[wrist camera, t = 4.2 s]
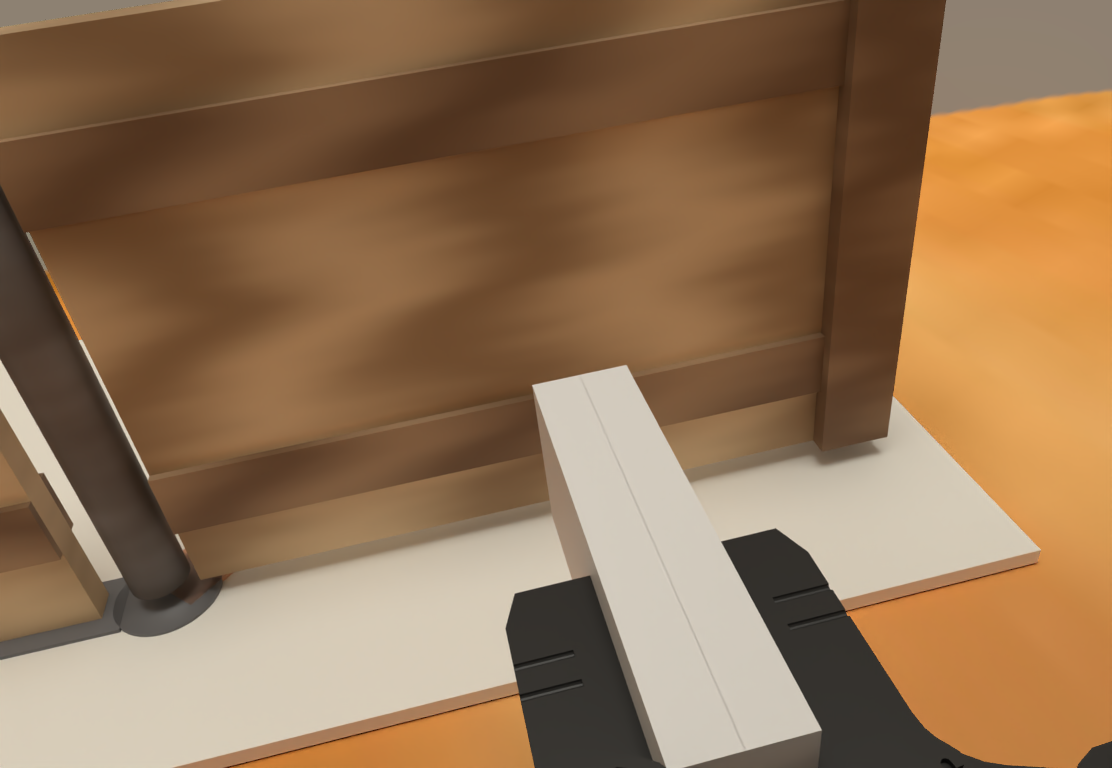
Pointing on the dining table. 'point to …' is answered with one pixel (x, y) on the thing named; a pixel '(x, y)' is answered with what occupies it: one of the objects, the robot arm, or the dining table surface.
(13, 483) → the fixed fence section
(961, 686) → the dining table surface
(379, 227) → the hinged fence section
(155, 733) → the card
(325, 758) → the dining table surface
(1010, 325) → the dining table surface
